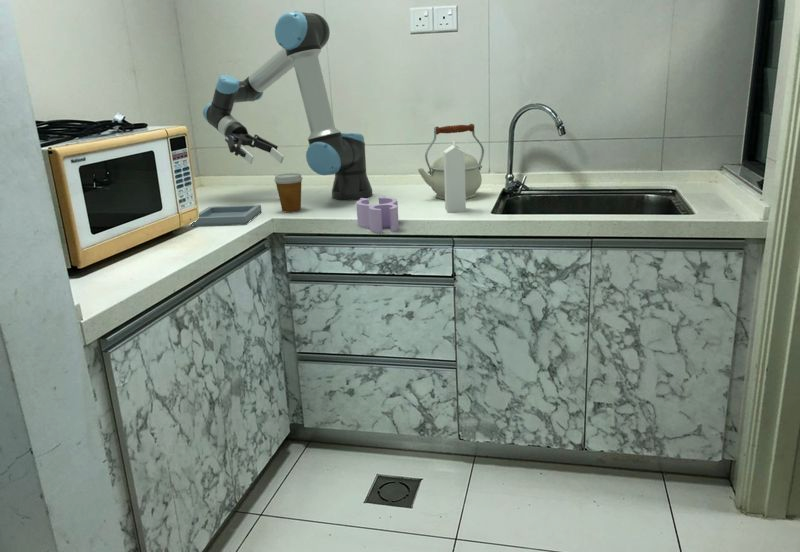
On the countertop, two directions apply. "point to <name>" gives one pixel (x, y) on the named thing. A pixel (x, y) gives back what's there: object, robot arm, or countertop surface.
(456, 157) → the milk
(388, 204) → the clip
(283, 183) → the disposable coffee cup
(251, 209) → the tray
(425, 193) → the countertop surface
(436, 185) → the kettle
